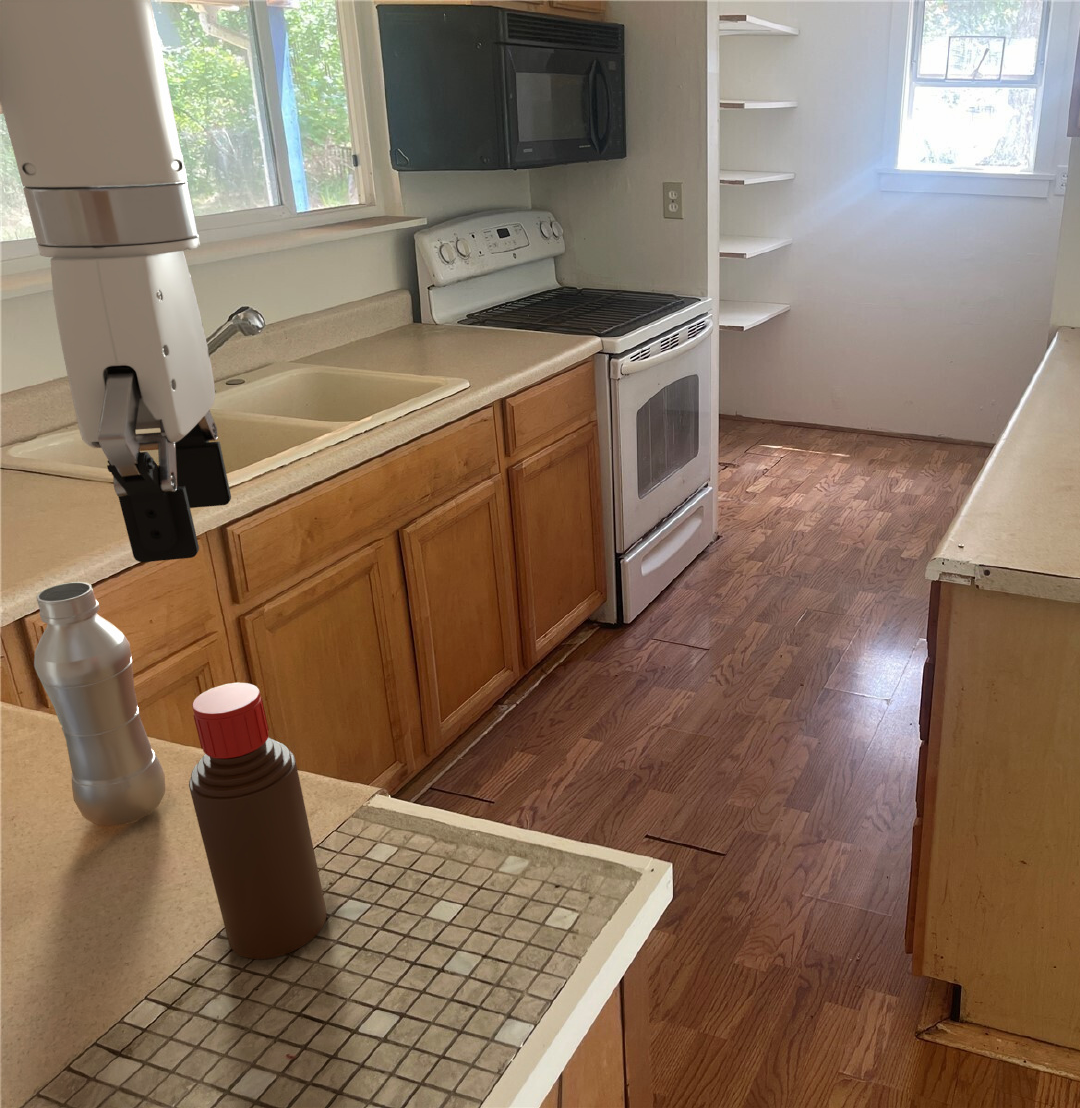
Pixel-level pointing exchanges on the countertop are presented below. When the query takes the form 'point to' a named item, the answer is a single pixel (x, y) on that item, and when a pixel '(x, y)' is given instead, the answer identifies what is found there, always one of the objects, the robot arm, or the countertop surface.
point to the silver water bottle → (96, 708)
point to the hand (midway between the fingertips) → (187, 528)
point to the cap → (230, 720)
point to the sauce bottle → (259, 850)
